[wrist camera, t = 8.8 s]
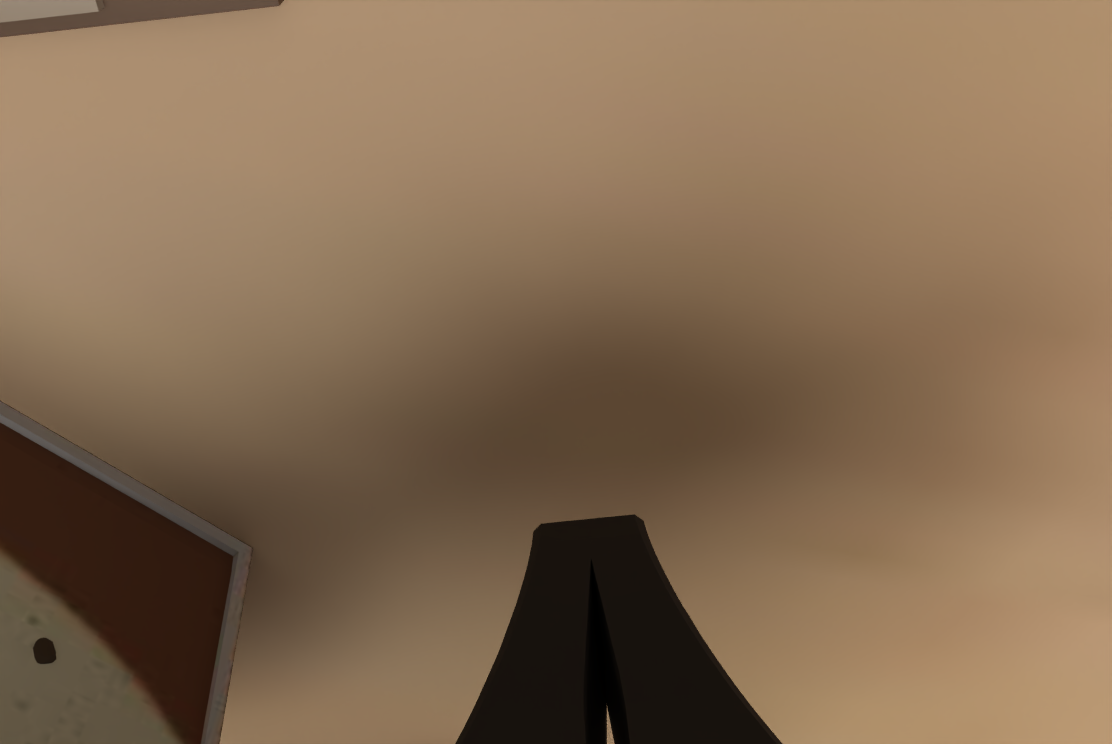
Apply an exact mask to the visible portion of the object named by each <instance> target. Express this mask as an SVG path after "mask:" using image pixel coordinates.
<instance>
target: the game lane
mask: <svg viewBox="0 0 1112 744" xmlns="http://www.w3.org/2000/svg"><path fill="white" fill-rule="evenodd" d="M283 1H284V0H0V37H7V36H16V35H25V34H34V33H43V32H52V31H61V30H69V29H78V28H87V27H96V26H105V25H114V24H123V23H132V22H140V21H149V20H158V19H167V18H176V17H185V16H194V15H203V14H211V13H220V12H229V11H238V10H247V9H256V8H265V7H274V6H279V5H280V4H281V3H282V2H283Z"/></svg>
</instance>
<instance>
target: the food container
mask: <svg viewBox="0 0 1112 744" xmlns="http://www.w3.org/2000/svg"><path fill="white" fill-rule="evenodd" d="M252 551H253V548H251V547H250V546H248V545H246V544H244V543H243V542H241V541H239V540H238V539H236V538H234V537H232V536H231V535H229V534H227V533H226V532H224V531H222V530H220V529H219V528H217V527H215V526H214V525H212V524H210V523H208V522H207V521H205V520H203V519H202V518H200V517H198V516H196V515H195V514H193V513H191V512H189V511H188V510H186V509H184V508H183V507H181V506H179V505H177V504H176V503H174V502H172V501H171V500H169V499H167V498H165V497H164V496H162V495H160V494H159V493H157V492H155V491H153V490H152V489H150V488H148V487H147V486H145V485H143V484H141V483H140V482H138V481H136V480H135V479H133V478H131V477H129V476H128V475H126V474H124V473H123V472H121V471H119V470H117V469H116V468H114V467H112V466H111V465H109V464H107V463H105V462H104V461H102V460H100V459H99V458H97V457H95V456H93V455H92V454H90V453H88V452H87V451H85V450H83V449H81V448H80V447H78V446H76V445H74V444H73V443H71V442H69V441H68V440H66V439H64V438H62V437H61V436H59V435H57V434H56V433H54V432H52V431H50V430H49V429H47V428H45V427H44V426H42V425H40V424H38V423H37V422H35V421H33V420H32V419H30V418H28V417H26V416H25V415H23V414H21V413H20V412H18V411H16V410H14V409H13V408H11V407H9V406H8V405H6V404H4V403H2V402H1V401H0V744H219V742H220V737H221V731H222V725H223V719H224V713H225V707H226V702H227V696H228V690H229V684H230V678H231V673H232V667H233V661H234V655H235V649H236V644H237V638H238V632H239V626H240V620H241V614H242V609H243V603H244V597H245V591H246V585H247V580H248V574H249V568H250V562H251V556H252Z"/></svg>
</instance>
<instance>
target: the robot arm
mask: <svg viewBox="0 0 1112 744" xmlns="http://www.w3.org/2000/svg"><path fill="white" fill-rule="evenodd" d="M607 707H608V712H609V717H610V723H611V728H612V733H613V738H614V743H615V744H782V743H781V742H780V740H779V739H778V738H777V737H776V736H775V734H774V733H773V732H772V731H771V730H770V728H769V727H768V726H767V725H766V724H765V722H764V721H763V720H762V719H761V718H760V716H759V715H758V714H757V713H756V711H755V710H754V709H753V708H752V706H751V705H750V704H749V703H748V701H747V700H746V699H745V697H744V696H743V695H742V693H741V692H740V691H739V689H738V688H737V687H736V685H735V684H734V683H733V681H732V680H731V679H730V677H729V676H728V674H727V673H726V672H725V670H724V669H723V667H722V666H721V664H720V663H719V662H718V660H717V659H716V657H715V656H714V654H713V653H712V651H711V650H710V648H709V647H708V645H707V644H706V642H705V641H704V639H703V638H702V636H701V635H700V633H699V631H698V630H697V628H696V627H695V625H694V623H693V622H692V620H691V618H690V617H689V615H688V614H687V612H686V610H685V609H684V607H683V605H682V604H681V602H680V600H679V599H678V597H677V595H676V593H675V591H674V590H673V588H672V586H671V584H670V582H669V580H668V578H667V576H666V574H665V573H664V571H663V569H662V567H661V565H660V562H659V560H658V558H657V556H656V554H655V552H654V549H653V547H652V545H651V542H650V539H649V537H648V534H647V531H646V528H645V525H644V521H643V520H641V519H640V518H639V517H637V516H636V515H625V516H615V517H605V518H595V519H585V520H575V521H565V522H554V523H544V524H541V525H540V526H539V527H538V528H536V529H535V530H534V532H533V540H532V547H531V552H530V557H529V561H528V566H527V570H526V573H525V577H524V581H523V584H522V587H521V590H520V594H519V597H518V600H517V603H516V606H515V609H514V612H513V615H512V617H511V620H510V623H509V626H508V628H507V631H506V634H505V637H504V639H503V642H502V645H501V647H500V650H499V652H498V655H497V657H496V660H495V662H494V664H493V666H492V669H491V671H490V673H489V675H488V678H487V680H486V682H485V684H484V687H483V689H482V691H481V693H480V696H479V698H478V700H477V702H476V704H475V706H474V709H473V711H472V713H471V715H470V717H469V719H468V721H467V723H466V725H465V727H464V729H463V730H462V732H461V734H460V736H459V738H458V740H457V742H456V744H607Z"/></svg>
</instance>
